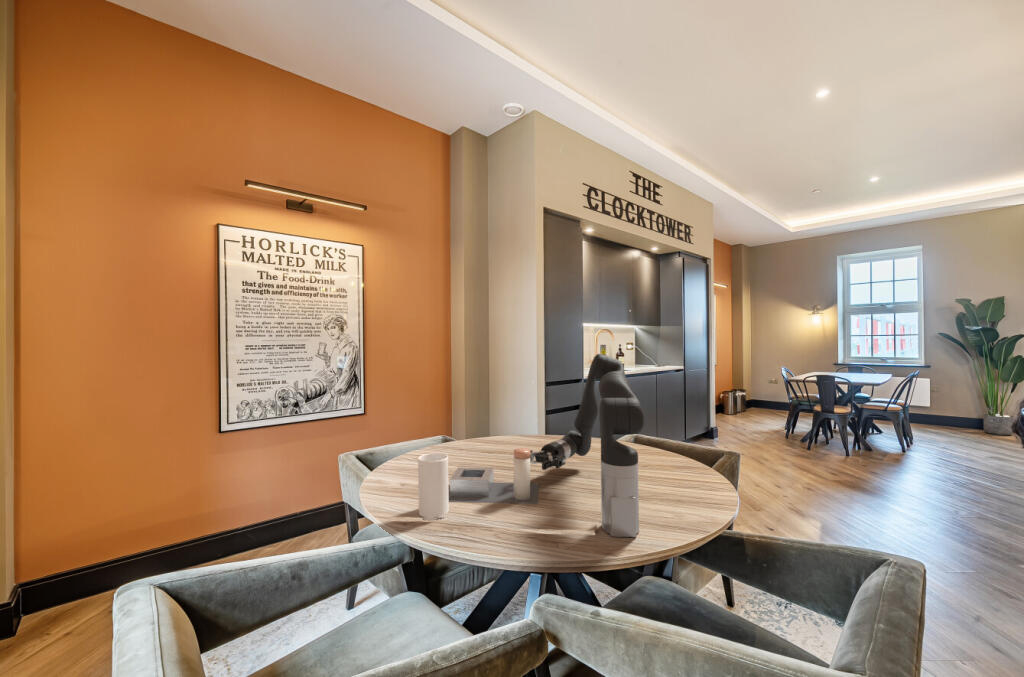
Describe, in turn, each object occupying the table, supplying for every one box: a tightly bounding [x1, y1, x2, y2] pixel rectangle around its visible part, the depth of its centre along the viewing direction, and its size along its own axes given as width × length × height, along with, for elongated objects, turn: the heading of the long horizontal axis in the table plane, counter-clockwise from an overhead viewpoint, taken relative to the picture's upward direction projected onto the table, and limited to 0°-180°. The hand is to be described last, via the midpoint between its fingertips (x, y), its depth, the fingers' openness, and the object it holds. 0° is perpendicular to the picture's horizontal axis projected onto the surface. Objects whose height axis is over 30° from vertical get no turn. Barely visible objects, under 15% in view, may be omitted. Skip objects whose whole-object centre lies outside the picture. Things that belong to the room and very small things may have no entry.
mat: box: [449, 481, 540, 505], centre depth 127 cm, size 17×28×1 cm, turn 86°
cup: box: [417, 452, 450, 521], centre depth 113 cm, size 8×8×16 cm
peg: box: [513, 447, 531, 500], centre depth 122 cm, size 5×5×14 cm
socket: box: [449, 466, 495, 497], centre depth 129 cm, size 12×12×5 cm
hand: (531, 464), depth 127 cm, fingers open, 8 cm apart
